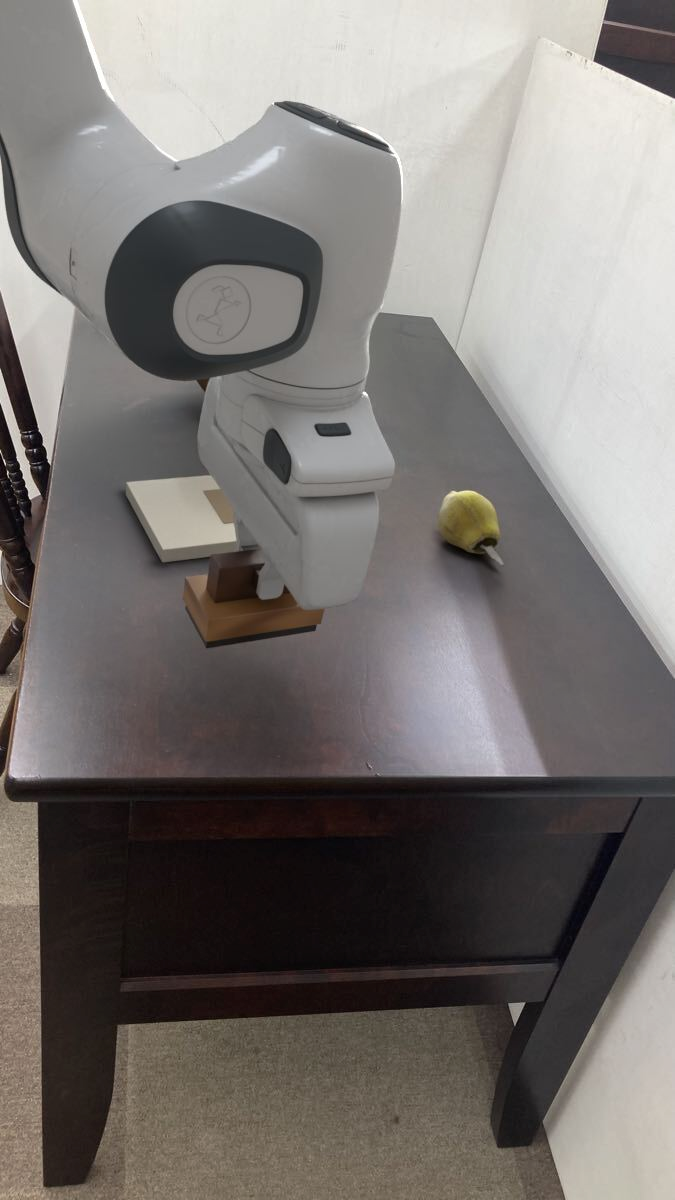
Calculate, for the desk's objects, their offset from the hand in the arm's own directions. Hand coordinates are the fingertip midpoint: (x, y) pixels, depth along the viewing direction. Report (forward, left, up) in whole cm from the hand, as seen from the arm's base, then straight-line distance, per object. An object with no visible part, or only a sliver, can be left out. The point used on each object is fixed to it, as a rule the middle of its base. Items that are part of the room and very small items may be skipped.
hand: (257, 579), depth 63 cm
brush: (0, 0, -4) cm, 4 cm away
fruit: (+31, +14, -11) cm, 36 cm away
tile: (+9, +24, -11) cm, 28 cm away
